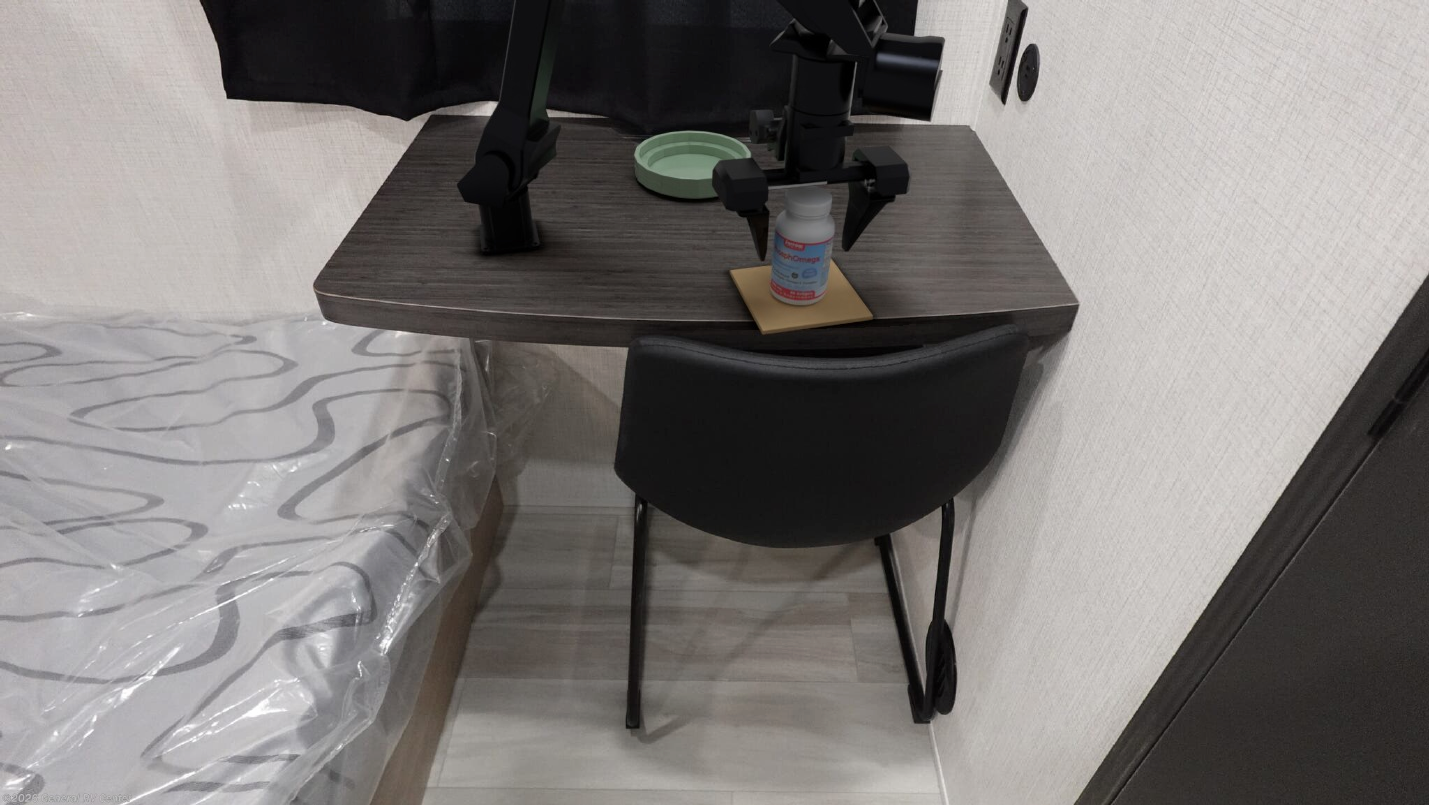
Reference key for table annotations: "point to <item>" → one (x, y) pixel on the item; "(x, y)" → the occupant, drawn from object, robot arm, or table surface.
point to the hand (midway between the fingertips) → (803, 254)
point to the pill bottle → (802, 246)
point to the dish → (684, 162)
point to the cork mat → (783, 317)
